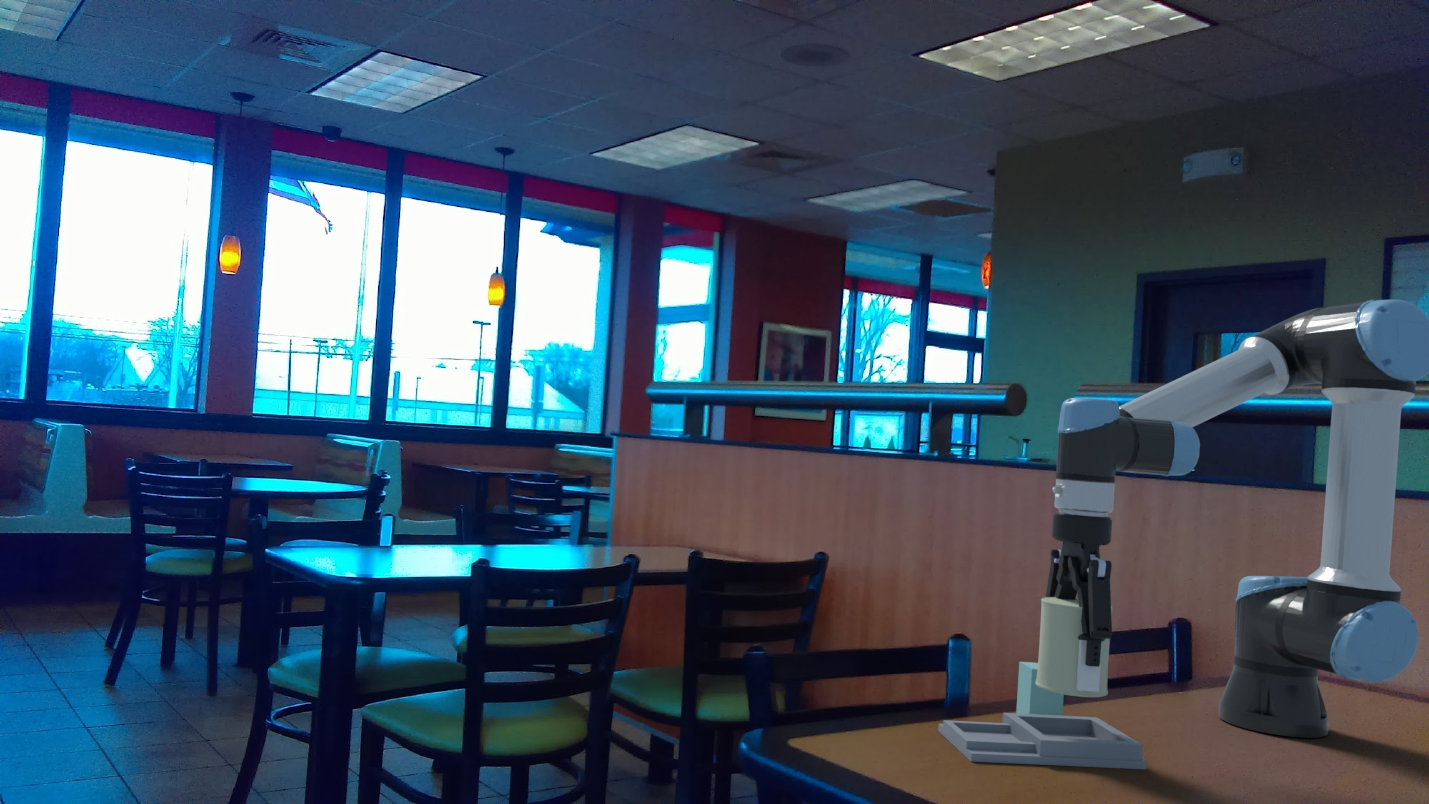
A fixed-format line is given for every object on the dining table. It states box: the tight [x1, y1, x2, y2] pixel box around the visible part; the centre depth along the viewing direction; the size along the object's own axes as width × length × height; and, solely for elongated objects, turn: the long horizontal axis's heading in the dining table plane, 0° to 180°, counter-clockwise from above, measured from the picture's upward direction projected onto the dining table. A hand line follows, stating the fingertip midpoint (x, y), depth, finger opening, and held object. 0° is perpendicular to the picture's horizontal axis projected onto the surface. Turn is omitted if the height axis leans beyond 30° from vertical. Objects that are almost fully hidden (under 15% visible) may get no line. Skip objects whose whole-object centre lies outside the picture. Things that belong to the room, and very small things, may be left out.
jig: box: [937, 712, 1148, 770], centre depth 144 cm, size 23×14×3 cm, turn 95°
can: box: [1035, 596, 1114, 698], centre depth 145 cm, size 9×9×12 cm
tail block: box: [1015, 661, 1065, 716], centre depth 161 cm, size 5×5×8 cm
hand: (1071, 681), depth 145 cm, fingers closed on can, 9 cm apart
